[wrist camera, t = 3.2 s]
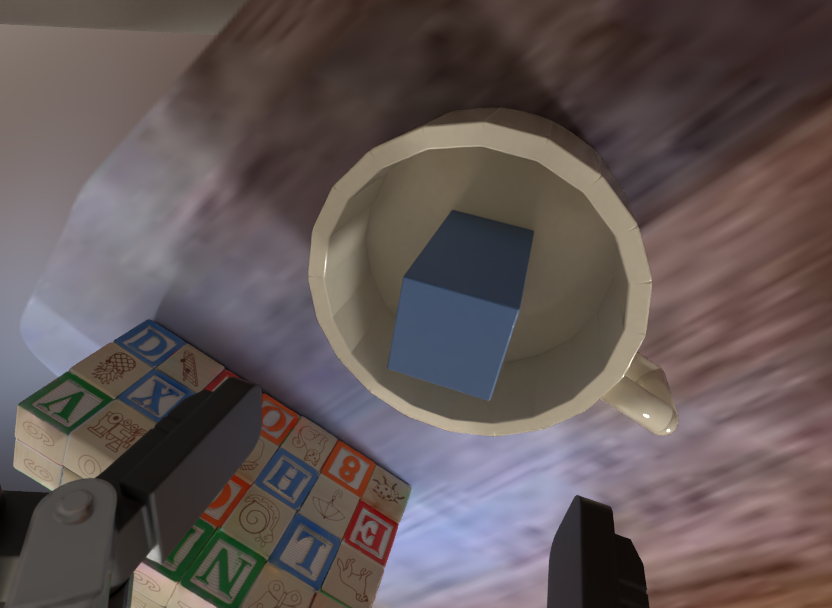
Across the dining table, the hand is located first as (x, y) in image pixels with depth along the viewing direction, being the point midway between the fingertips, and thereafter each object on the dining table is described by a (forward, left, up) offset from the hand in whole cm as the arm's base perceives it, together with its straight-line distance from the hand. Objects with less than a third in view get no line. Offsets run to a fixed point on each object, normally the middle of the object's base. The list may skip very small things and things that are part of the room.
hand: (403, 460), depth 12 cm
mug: (+2, 0, -14) cm, 14 cm away
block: (0, 0, -14) cm, 14 cm away
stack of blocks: (-5, -20, -14) cm, 25 cm away
